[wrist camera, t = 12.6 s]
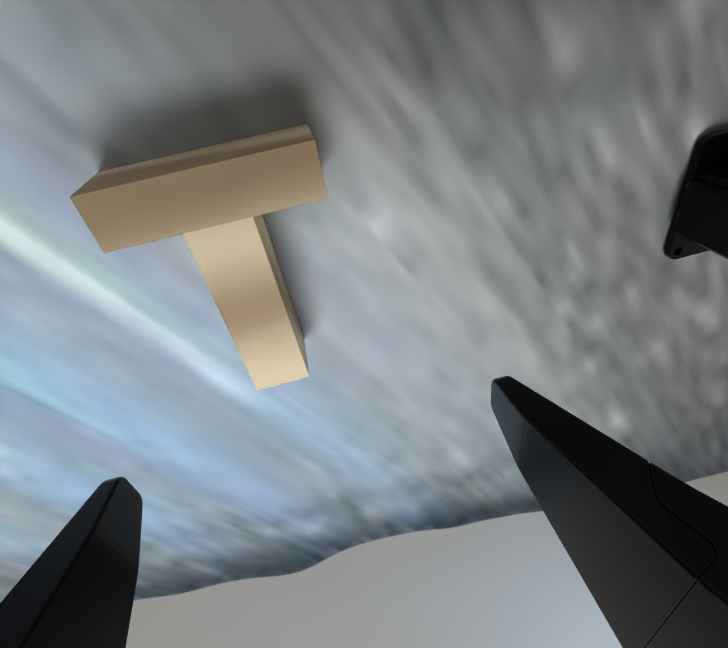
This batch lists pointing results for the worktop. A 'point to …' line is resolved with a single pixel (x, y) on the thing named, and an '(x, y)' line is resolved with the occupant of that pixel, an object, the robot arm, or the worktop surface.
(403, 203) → the worktop surface
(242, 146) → the wooden pusher
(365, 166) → the worktop surface
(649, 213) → the worktop surface
